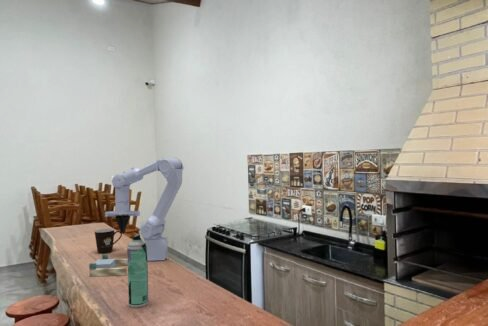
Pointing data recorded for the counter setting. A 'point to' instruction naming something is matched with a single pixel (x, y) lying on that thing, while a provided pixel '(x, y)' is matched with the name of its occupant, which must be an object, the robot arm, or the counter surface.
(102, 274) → the channel
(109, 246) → the coffee mug
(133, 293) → the spray can
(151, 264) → the counter surface
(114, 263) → the block
